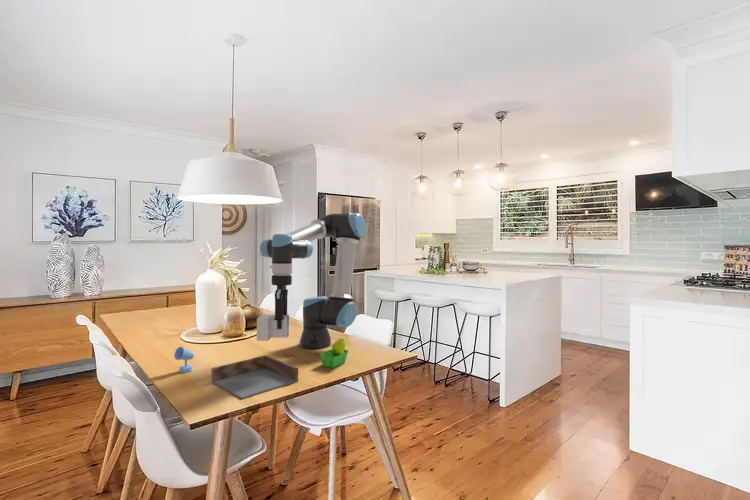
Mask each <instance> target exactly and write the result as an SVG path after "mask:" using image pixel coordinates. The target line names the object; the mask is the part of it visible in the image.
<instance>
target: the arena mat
mask: <svg viewBox="0 0 750 500" xmlns="http://www.w3.org/2000/svg"><path fill="white" fill-rule="evenodd" d="M298 382H299V379H298V380H297V381H295V380H292V379H290V378H288V377H285V376H283V375H281V374H278V373H276V372H274V371H271V370H269V369H266V368H262V369H258V370H254V371H250V372H247V373H243V374H239V375H235V376H232V377H228V378H224V379H220V380H217V381H212V380H211V383H213V385H216V386H217V387H220V388H221V389H223V390H225V391H226V392H228V393H230V394H231V395H233V396H235V397H237V398H239V399H240V400H245V399H248V398H250V397H251V398H252V397H254V396H257V395H260V394H263V393H266V392H270V391H273V390H276V389H280V388H282V387H286V386H288V385H291V384H295V383H298Z"/></svg>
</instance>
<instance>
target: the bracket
mask: <svg viewBox="0 0 750 500" xmlns="http://www.w3.org/2000/svg"><path fill="white" fill-rule="evenodd" d="M274 319H275V314H261V315H260V316H259V317H257V318H256V341H258V342H261V341H262V342H263V341H269V340H270V339H271V338H277V339H278V338H281V339H284V338H285V339H287V338H288V337H289V336H290V335H289V334H290V325H289V324H290V315H289V314H287V315H283V320H284V337H276V320H274Z"/></svg>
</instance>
